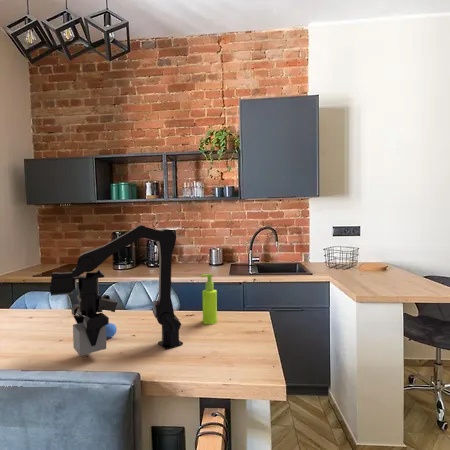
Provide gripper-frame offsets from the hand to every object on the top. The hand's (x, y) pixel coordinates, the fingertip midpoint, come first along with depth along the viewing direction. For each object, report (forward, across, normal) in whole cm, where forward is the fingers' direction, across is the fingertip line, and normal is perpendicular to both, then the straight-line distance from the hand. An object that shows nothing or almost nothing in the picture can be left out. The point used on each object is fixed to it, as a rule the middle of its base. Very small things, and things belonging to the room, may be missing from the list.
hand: (89, 341), depth 95 cm
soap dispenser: (+5, +1, -47) cm, 47 cm away
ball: (+2, +12, -10) cm, 16 cm away
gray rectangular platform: (+2, 0, 0) cm, 2 cm away
